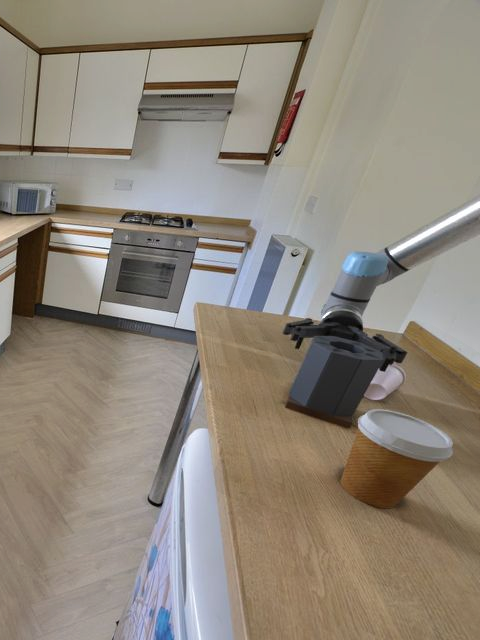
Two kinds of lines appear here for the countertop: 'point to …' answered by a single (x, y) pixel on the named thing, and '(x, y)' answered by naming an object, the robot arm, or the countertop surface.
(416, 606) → the countertop surface
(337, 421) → the towel holder
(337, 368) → the grey hollow prism
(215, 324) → the countertop surface
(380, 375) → the smoothie
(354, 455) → the disposable coffee cup
